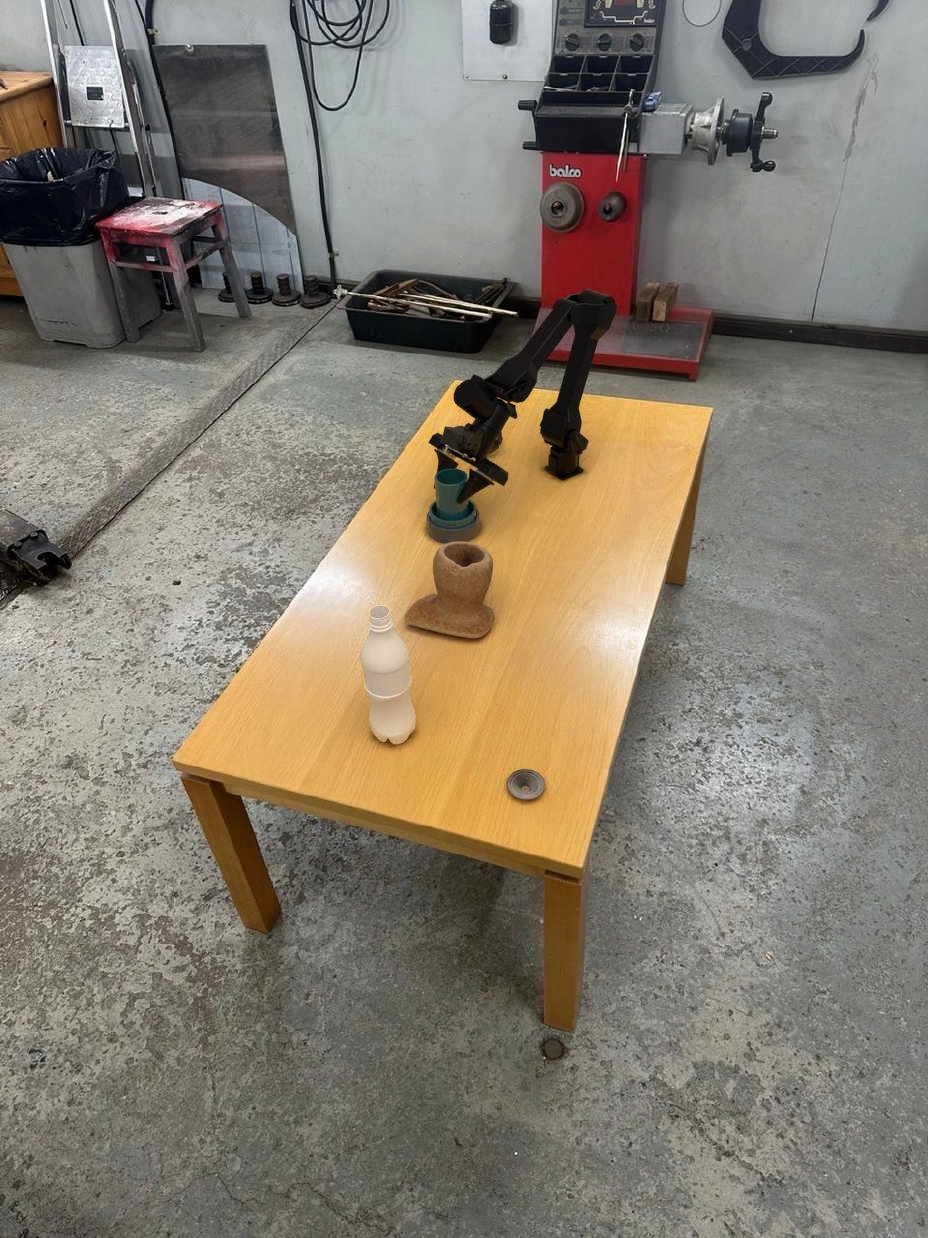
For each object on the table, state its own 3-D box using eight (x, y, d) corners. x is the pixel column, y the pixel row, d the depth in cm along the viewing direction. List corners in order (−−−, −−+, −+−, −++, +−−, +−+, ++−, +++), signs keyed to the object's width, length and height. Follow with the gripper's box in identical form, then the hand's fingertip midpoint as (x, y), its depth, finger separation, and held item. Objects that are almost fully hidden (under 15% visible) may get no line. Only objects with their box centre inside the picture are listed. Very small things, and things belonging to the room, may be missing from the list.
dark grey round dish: (515, 808, 122) (515, 803, 122) (501, 780, 126) (501, 774, 126) (550, 798, 124) (550, 792, 123) (535, 769, 128) (536, 764, 127)
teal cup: (466, 510, 178) (465, 466, 171) (470, 528, 173) (469, 483, 166) (435, 513, 177) (433, 469, 170) (439, 531, 172) (436, 487, 166)
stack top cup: (459, 510, 181) (458, 490, 178) (485, 531, 175) (485, 511, 172) (421, 526, 177) (420, 506, 174) (447, 547, 171) (446, 527, 168)
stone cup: (504, 608, 156) (504, 541, 147) (482, 649, 148) (480, 582, 138) (428, 591, 161) (424, 525, 151) (403, 630, 153) (396, 564, 143)
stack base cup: (460, 508, 182) (459, 495, 180) (489, 531, 175) (489, 518, 173) (417, 525, 178) (416, 512, 175) (446, 550, 171) (445, 536, 169)
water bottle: (371, 717, 137) (353, 597, 120) (416, 713, 137) (404, 593, 121) (371, 751, 131) (353, 631, 115) (417, 747, 132) (405, 626, 115)
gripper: (432, 395, 167) (393, 464, 169) (497, 427, 156) (454, 501, 158) (463, 418, 176) (426, 483, 178) (527, 450, 165) (486, 519, 167)
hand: (446, 496), depth 170 cm, fingers closed on teal cup, 7 cm apart
